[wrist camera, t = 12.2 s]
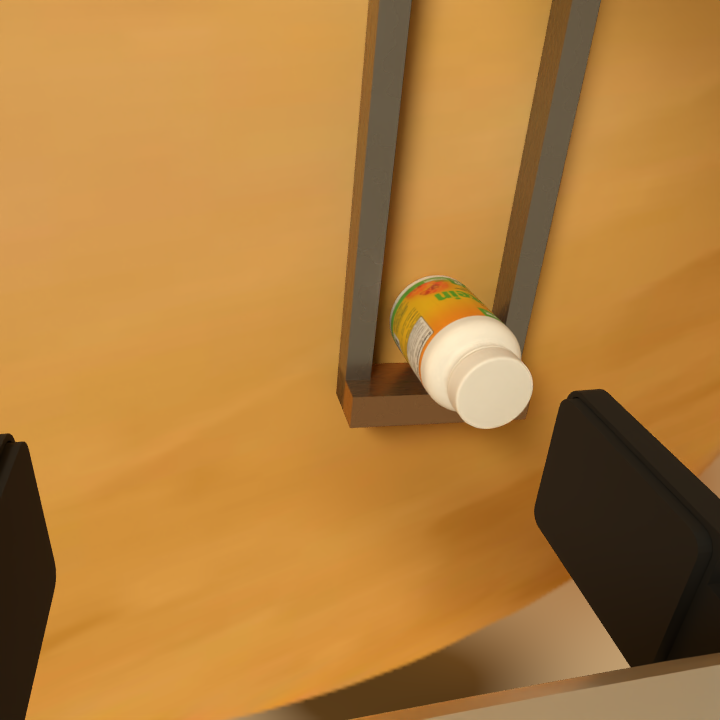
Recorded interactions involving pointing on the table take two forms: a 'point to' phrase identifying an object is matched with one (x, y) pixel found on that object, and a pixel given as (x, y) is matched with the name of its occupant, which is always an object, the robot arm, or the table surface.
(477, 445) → the table surface
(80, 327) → the table surface
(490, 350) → the supplement bottle
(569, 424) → the robot arm
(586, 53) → the u-shaped frame
